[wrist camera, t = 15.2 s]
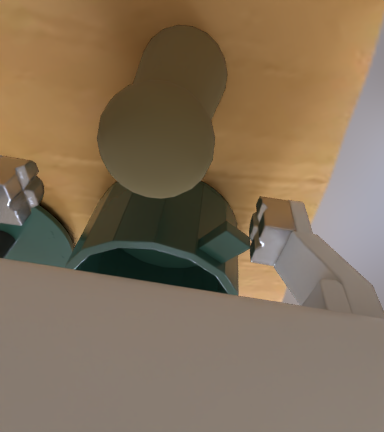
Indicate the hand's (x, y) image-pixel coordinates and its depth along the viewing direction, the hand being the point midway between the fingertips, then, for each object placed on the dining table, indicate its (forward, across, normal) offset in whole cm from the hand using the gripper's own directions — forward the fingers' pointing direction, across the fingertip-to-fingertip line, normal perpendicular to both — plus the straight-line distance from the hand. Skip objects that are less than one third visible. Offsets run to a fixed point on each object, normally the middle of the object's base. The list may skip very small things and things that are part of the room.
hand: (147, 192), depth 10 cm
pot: (+13, +1, +15) cm, 20 cm away
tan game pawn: (+13, 0, 0) cm, 13 cm away
